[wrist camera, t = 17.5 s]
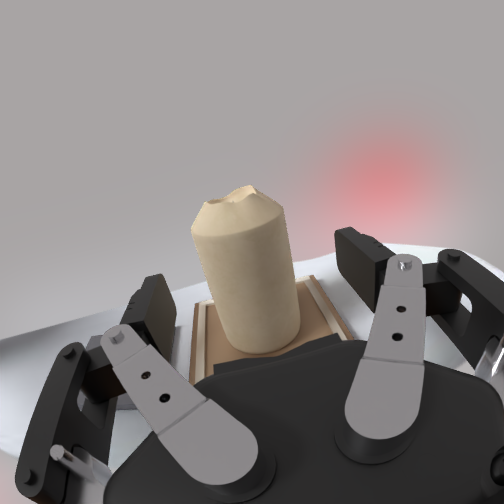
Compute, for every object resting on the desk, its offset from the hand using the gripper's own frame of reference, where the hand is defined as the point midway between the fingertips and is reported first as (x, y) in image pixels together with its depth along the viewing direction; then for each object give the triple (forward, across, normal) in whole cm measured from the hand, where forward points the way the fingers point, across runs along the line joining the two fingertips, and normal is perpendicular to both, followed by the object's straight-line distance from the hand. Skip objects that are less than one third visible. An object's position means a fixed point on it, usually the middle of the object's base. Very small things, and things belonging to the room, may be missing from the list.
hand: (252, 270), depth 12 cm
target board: (+5, 0, +8) cm, 9 cm away
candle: (+5, 0, +8) cm, 9 cm away
